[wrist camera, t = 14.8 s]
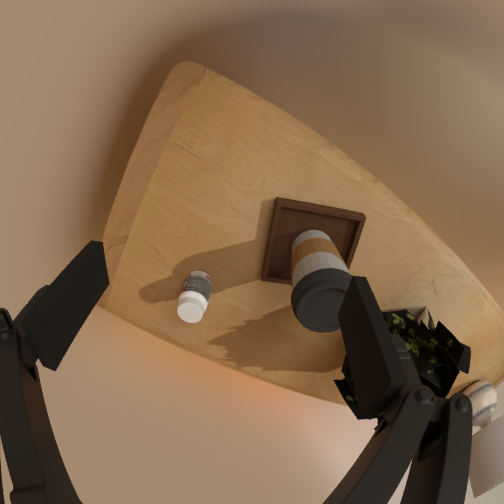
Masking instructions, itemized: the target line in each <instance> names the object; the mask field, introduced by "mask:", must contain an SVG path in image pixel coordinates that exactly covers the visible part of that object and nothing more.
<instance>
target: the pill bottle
mask: <svg viewBox="0 0 504 504" xmlns="http://www.w3.org/2000/svg"><path fill="white" fill-rule="evenodd" d="M212 287H213V281H212V279H211V277H210V276H209V275H208V274H207V273H205V272H202V271H193V272H191V273H189V274H188V276H187V277H186V280H185V282H184V285H183V288H182V290H181V293H180V295H179V298H178V304H179V305H178V308H177V314H178V316H179V317H180V318H181V319H182V320H184V321H186V322H189V323H196V322H199V321H200V320H201V319H202V317H203V314H204V312H205V311H206V309H207V306H208V302H209V298H210V294H211V290H212Z"/></svg>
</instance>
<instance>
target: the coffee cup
mask: <svg viewBox="0 0 504 504" xmlns="http://www.w3.org/2000/svg"><path fill="white" fill-rule="evenodd" d="M291 261H292V288H293V292H292V295H291V305H292V307H293V311H294V314H295V316H296V318H297V319H298V320H299V321H300V323H301V324H302V325H303V326H304V327H306V328H307V329H309V330H311V331H314V332H321V333H324V332H332V331H336V330H339V329H341V328H340V324H339V321H338V317H337V315H338V312H339V310H340V307H341V305H342V302H343V300H344V297H345V295H346V292H347V289H348V287H349V284H350V281H351V279H352V275H351V274H350V273H349V269H348V268H347V266H346V264H345V262H344V261H343V259H342V257H341V255H340V254H339V252H338V250H337V249H336V247H335V245H334V244H333V243H332V241H331V240H330V238H329V236H327V235H326V234H325V233H323V232H321V231H318V230H308V231H305V232H303V233H301V234H300V235H299V236H298V237H297V238H296V239H295V240H294V242H293V245H292V257H291Z"/></svg>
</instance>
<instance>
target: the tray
mask: <svg viewBox="0 0 504 504" xmlns="http://www.w3.org/2000/svg"><path fill="white" fill-rule="evenodd" d="M365 220H366V217H365V215H364V214H363V213H359V212H354V211H349V210H345V209H340V208H334V207H329V206H324V205H319V204H313V203H308V202H302V201H297V200H291V199H285V198H279V197H276V203H275V208H274V213H273V219H272V224H271V229H270V234H269V240H268V245H267V250H266V255H265V260H264V265H263V270H262V279H261V280H262V281H267V282H274V283H282V284H289V285H292V261H291V257H292V245H293V242H294V240H295V239H296V238H297V237H298V236H299V235H300V234H301V233H303V232H305V231H308V230H318V231H321V232H323V233H325V234H326V235H327V236H329V238H330V240H331V241H332V243H333V244H334V245H335V247H336V249H337V250H338V252H339V254H340V255H341V257H342V259H343V261H344V262H345V264H346V266H347V268H348V269H349V268H350V265H351V262H352V259H353V256H354V253H355V250H356V248H357V245H358V242H359V239H360V235H361V232H362V229H363V226H364V223H365Z"/></svg>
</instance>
